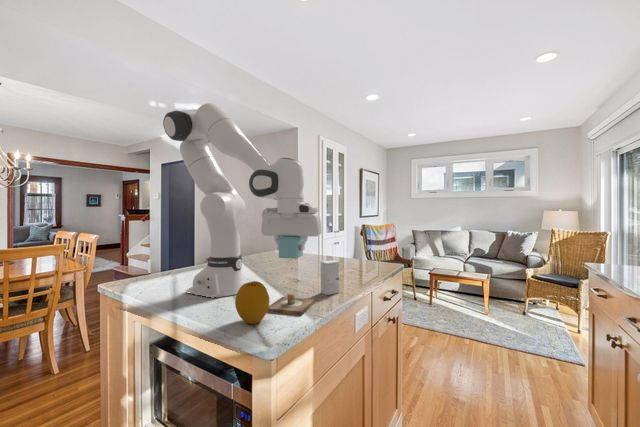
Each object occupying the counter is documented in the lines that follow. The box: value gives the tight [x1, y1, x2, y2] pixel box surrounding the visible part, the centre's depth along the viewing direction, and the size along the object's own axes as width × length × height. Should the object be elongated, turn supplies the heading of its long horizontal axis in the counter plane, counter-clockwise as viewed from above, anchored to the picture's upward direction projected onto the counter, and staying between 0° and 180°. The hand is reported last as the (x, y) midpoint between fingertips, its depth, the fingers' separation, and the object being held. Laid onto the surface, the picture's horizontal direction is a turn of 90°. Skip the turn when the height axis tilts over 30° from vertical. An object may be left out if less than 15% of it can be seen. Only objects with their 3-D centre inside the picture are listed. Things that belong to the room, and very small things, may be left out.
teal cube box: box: [278, 236, 304, 259], centre depth 94 cm, size 6×6×7 cm
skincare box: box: [320, 259, 340, 296], centre depth 110 cm, size 6×4×12 cm
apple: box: [234, 280, 270, 325], centre depth 83 cm, size 10×10×12 cm
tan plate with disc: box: [267, 293, 315, 316], centre depth 94 cm, size 12×12×4 cm
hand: (291, 249), depth 94 cm, fingers closed on teal cube box, 6 cm apart
